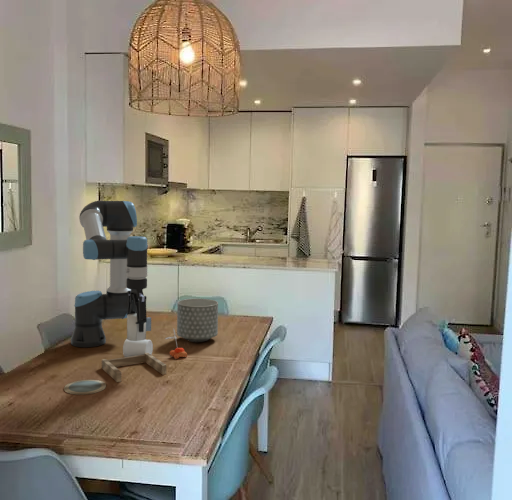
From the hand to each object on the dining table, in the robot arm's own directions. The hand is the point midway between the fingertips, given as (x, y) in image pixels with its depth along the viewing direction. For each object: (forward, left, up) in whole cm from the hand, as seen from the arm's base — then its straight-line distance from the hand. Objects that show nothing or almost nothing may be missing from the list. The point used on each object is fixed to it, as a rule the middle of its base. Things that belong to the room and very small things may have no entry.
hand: (136, 337), depth 204 cm
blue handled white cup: (0, +1, 0) cm, 1 cm away
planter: (-32, +42, -14) cm, 55 cm away
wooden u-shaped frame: (-3, 0, -14) cm, 14 cm away
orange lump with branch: (-12, +22, -14) cm, 29 cm away
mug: (-20, +9, -14) cm, 26 cm away
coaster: (+6, -21, -14) cm, 26 cm away
